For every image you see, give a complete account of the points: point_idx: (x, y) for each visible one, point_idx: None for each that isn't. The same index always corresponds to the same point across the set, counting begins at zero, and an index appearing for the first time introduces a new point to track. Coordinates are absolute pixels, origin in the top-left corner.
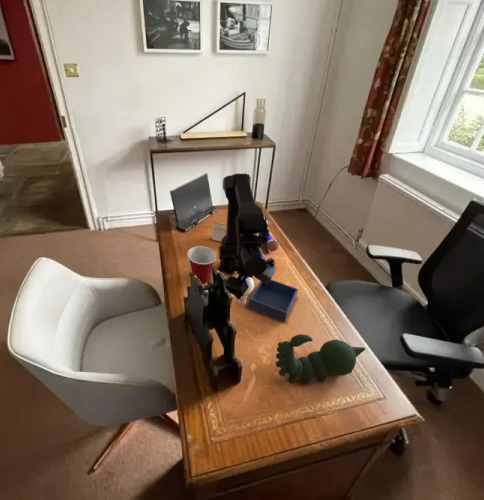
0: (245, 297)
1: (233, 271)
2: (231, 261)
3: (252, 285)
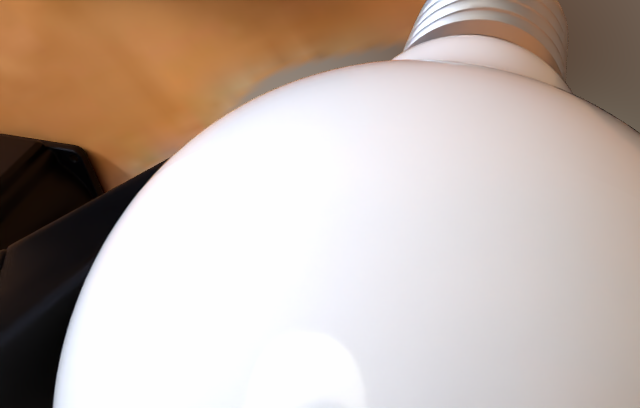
0: (550, 74)
1: (53, 152)
2: (3, 237)
3: (435, 345)
